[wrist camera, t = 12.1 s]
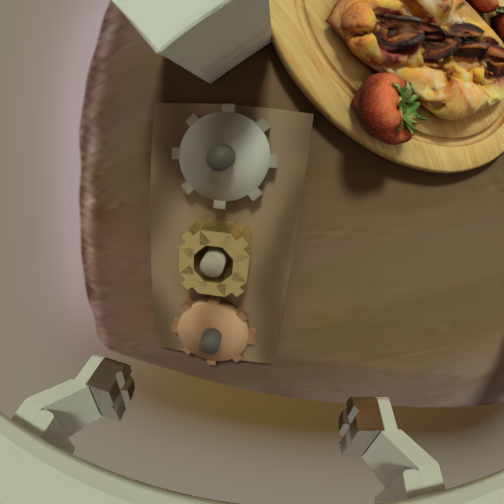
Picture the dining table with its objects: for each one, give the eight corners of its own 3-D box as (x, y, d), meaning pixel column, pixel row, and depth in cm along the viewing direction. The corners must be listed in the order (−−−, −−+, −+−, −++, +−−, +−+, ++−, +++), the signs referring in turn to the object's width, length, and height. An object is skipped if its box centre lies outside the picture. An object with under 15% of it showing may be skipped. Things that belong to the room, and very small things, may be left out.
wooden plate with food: (415, 232, 28) (455, 265, 20) (192, 9, 21) (166, -28, 13) (544, 82, 18) (585, 83, 11) (385, -99, 11) (403, -130, 3)
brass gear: (254, 224, 27) (251, 235, 24) (247, 282, 29) (244, 299, 27) (189, 216, 27) (179, 227, 24) (188, 274, 30) (179, 290, 27)
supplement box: (227, -7, 20) (196, -79, 8) (274, 42, 22) (272, -21, 10) (165, 36, 22) (98, -11, 10) (208, 87, 24) (156, 55, 12)
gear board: (311, 115, 24) (319, 111, 20) (272, 355, 35) (271, 385, 30) (160, 104, 25) (138, 100, 20) (161, 338, 35) (148, 365, 31)
